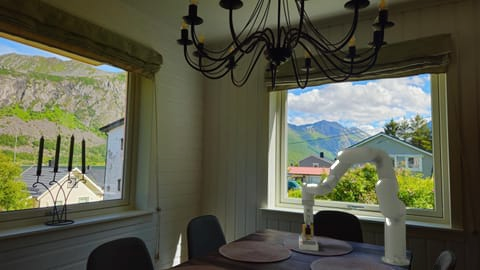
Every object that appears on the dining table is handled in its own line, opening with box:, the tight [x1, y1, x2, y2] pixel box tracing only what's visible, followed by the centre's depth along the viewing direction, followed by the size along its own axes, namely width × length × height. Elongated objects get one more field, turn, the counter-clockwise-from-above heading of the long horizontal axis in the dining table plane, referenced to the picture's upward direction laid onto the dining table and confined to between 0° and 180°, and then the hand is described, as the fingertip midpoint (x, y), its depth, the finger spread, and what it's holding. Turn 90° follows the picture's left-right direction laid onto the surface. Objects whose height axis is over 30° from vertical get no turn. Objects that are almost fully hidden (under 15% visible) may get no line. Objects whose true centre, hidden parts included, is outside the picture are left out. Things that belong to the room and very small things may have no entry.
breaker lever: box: [302, 223, 314, 239], centre depth 186 cm, size 2×6×8 cm, turn 81°
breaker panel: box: [298, 232, 319, 252], centre depth 184 cm, size 20×10×5 cm, turn 171°
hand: (307, 233), depth 186 cm, fingers closed on breaker lever, 2 cm apart
